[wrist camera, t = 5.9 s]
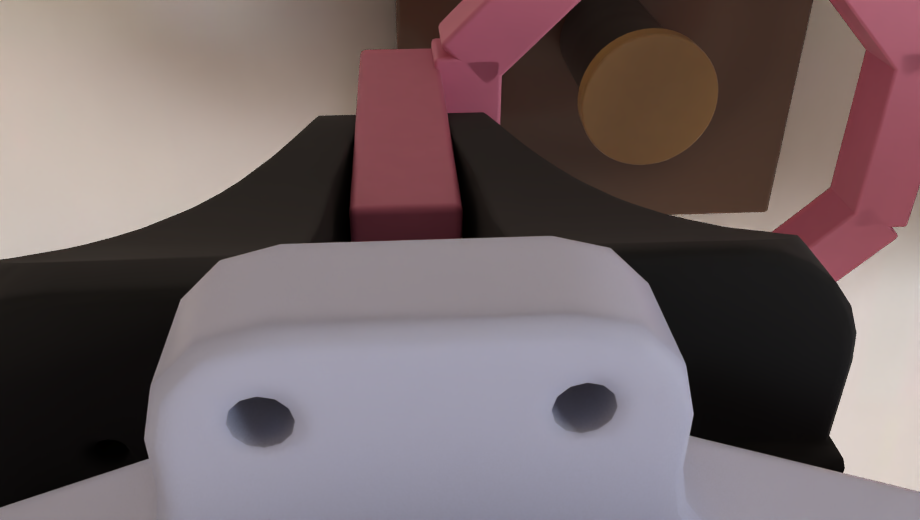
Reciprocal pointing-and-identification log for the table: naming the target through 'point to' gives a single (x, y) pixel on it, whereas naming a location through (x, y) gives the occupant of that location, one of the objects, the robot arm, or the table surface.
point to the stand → (653, 95)
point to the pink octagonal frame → (520, 27)
